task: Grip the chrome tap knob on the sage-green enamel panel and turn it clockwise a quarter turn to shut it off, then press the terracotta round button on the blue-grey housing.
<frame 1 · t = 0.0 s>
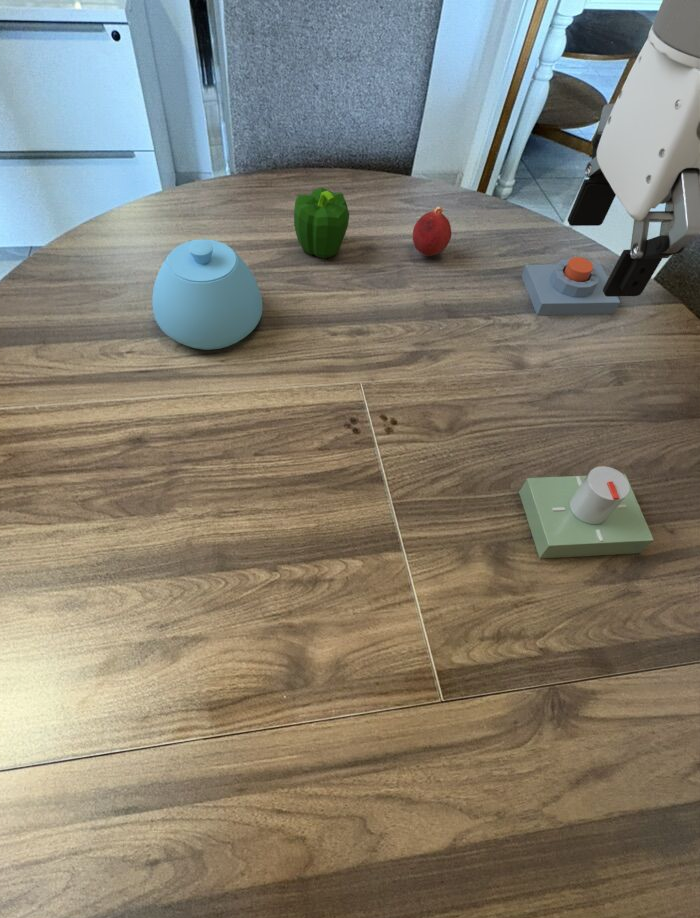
hand: (601, 257, 54), 28 cm above the table, tool pointing down, fingers open, 9 cm apart
button box: (566, 295, 94), on the table
bell pepper: (319, 249, 97), on the table
tap panel: (578, 521, 72), on the table
tap knob: (599, 494, 67), point 6 cm above the table, hinge at 90.0°
stop button: (578, 269, 90), point 4 cm above the table, slide at 0.1 cm
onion: (426, 256, 98), on the table
sugar bowl: (210, 320, 87), on the table
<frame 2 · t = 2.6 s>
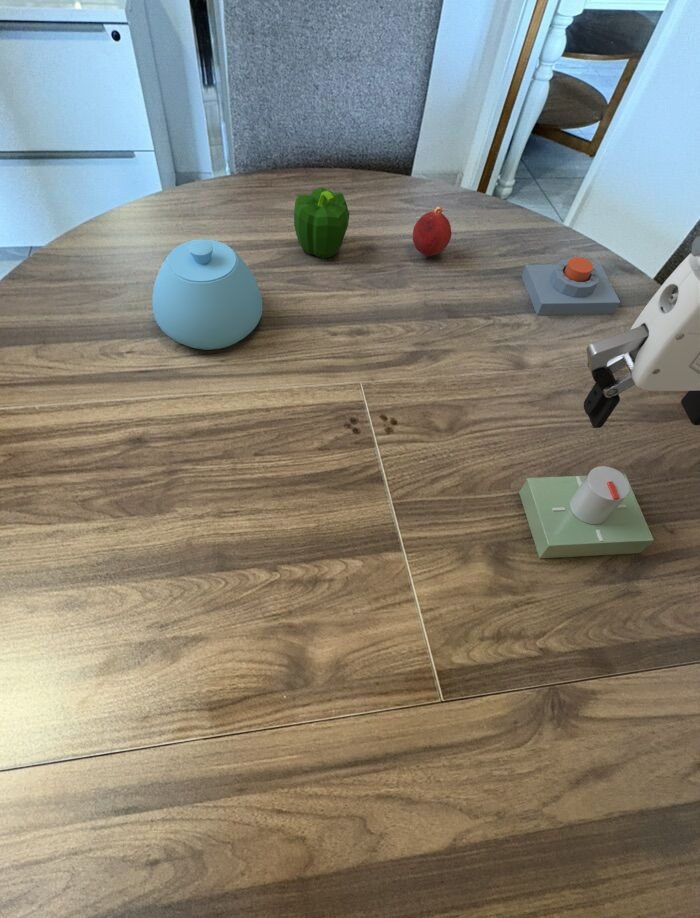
hand: (641, 415, 57), 18 cm above the table, tool pointing down, fingers open, 9 cm apart
nothing on the table moved.
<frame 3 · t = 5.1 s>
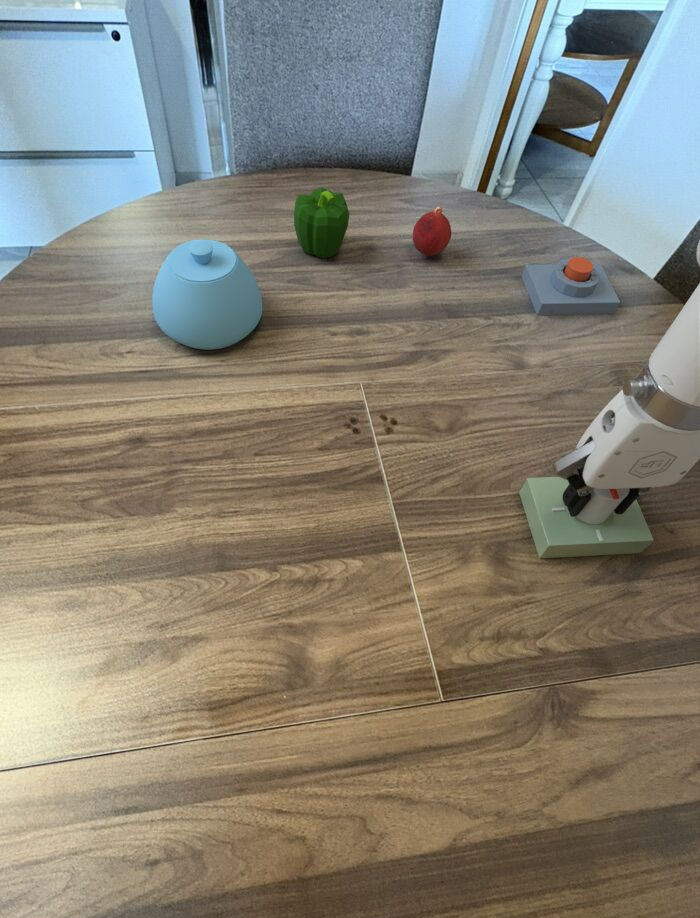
hand: (592, 503, 68), 4 cm above the table, tool pointing down, fingers closed on tap knob, 4 cm apart
tap knob: (599, 494, 67), point 6 cm above the table, hinge at 89.9°, touching gripper
everything else where it was.
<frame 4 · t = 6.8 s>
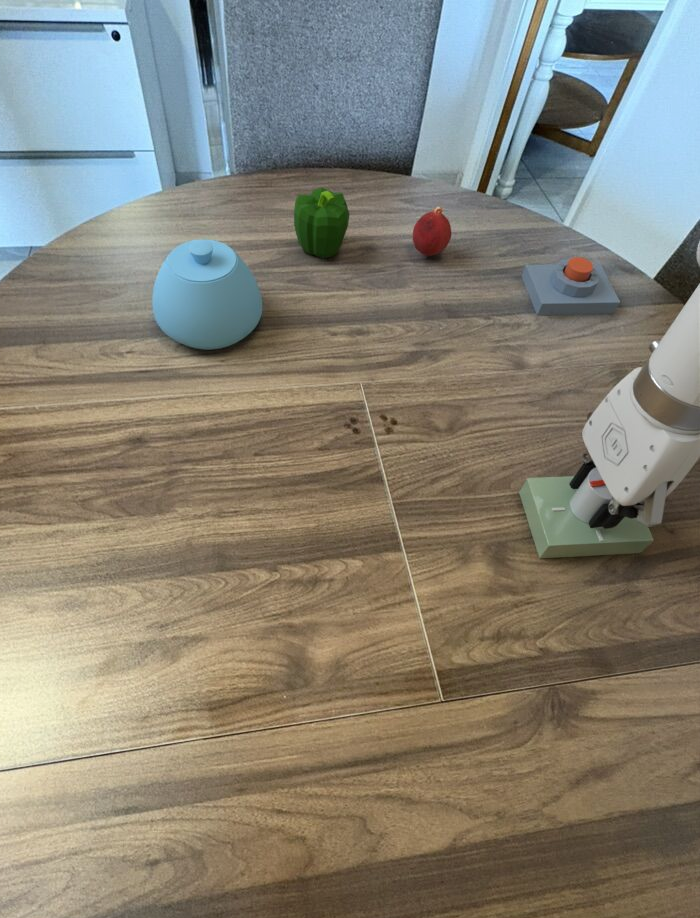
hand: (592, 503, 68), 4 cm above the table, tool pointing down, fingers closed on tap knob, 4 cm apart
tap knob: (599, 494, 67), point 6 cm above the table, hinge at 5.6°, touching gripper
everything else where it was.
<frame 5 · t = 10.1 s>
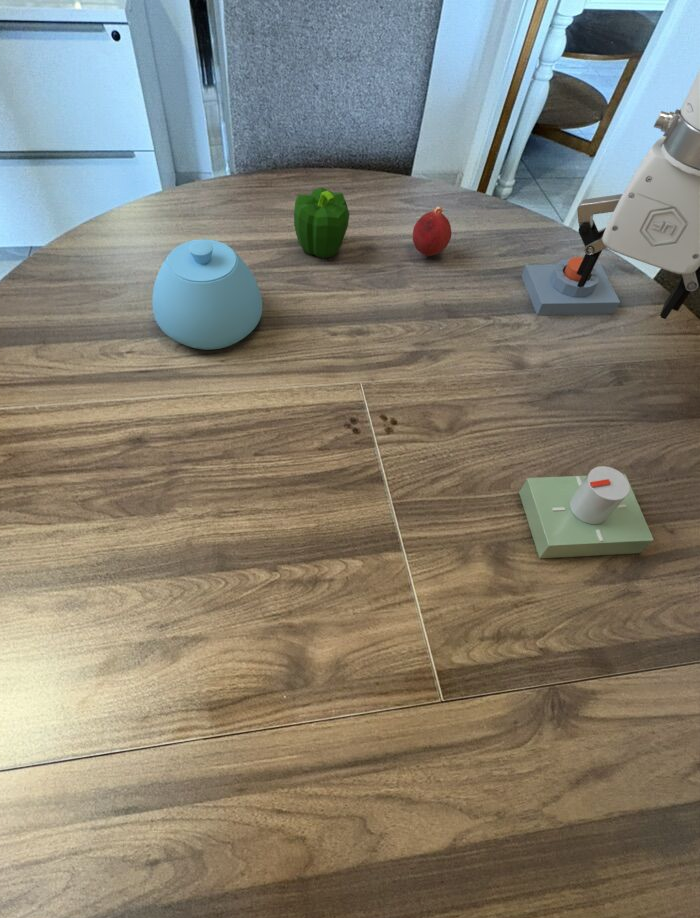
hand: (623, 296, 71), 15 cm above the table, tool pointing down, fingers open, 9 cm apart
tap knob: (599, 494, 67), point 6 cm above the table, hinge at 7.4°
everything else where it was.
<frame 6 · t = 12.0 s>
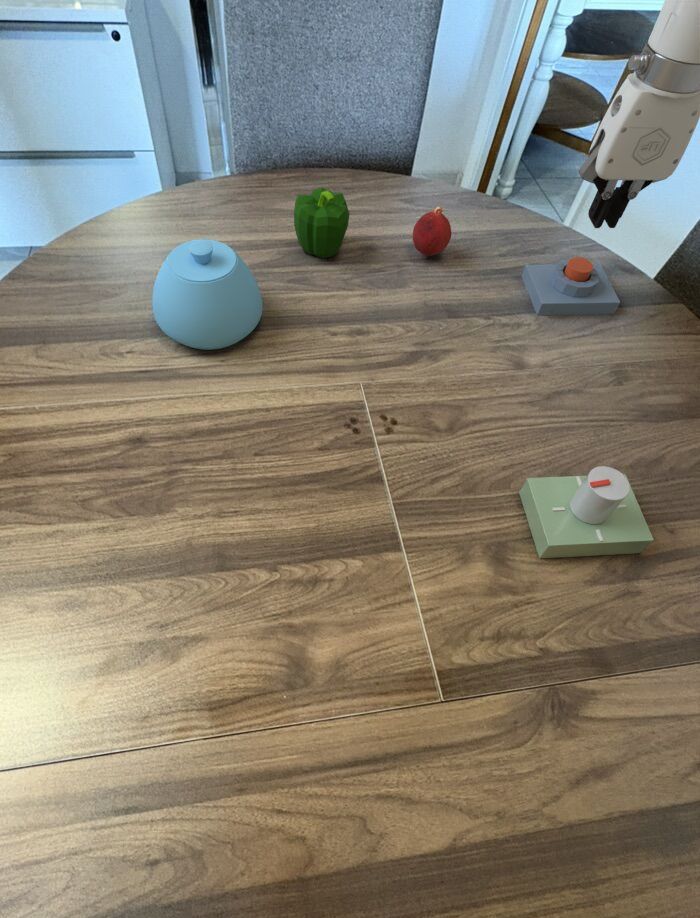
hand: (601, 221, 84), 12 cm above the table, tool pointing down, fingers closed
nothing on the table moved.
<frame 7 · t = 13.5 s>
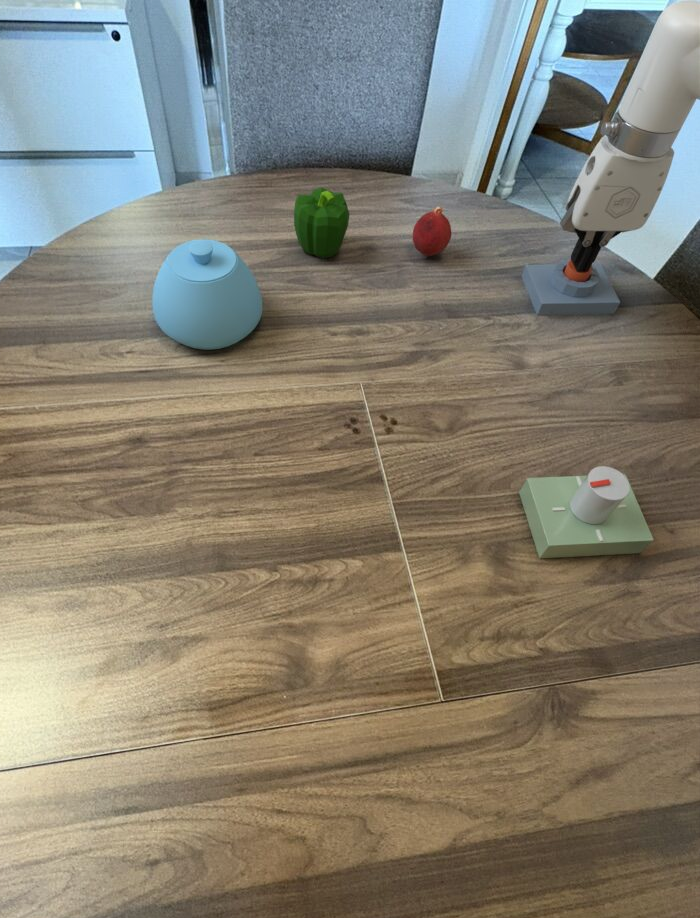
hand: (579, 265, 89), 5 cm above the table, tool pointing down, fingers closed
stop button: (577, 271, 90), point 4 cm above the table, slide at -0.1 cm, touching gripper
everything else where it was.
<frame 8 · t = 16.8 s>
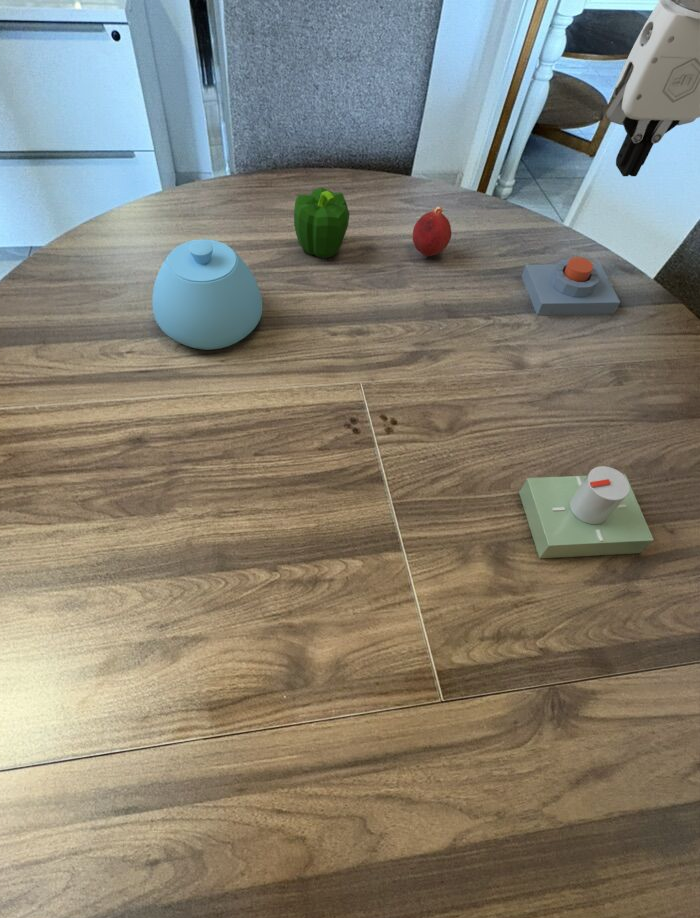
hand: (625, 170, 78), 19 cm above the table, tool pointing down, fingers closed
stop button: (578, 269, 90), point 4 cm above the table, slide at 0.1 cm
everything else where it was.
at the end: tap knob at +7° (first picture: +90°); stop button pushed in 1.1 cm at the most during the clip, back to where it started at the end; stop button slide at 0.1 cm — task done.
